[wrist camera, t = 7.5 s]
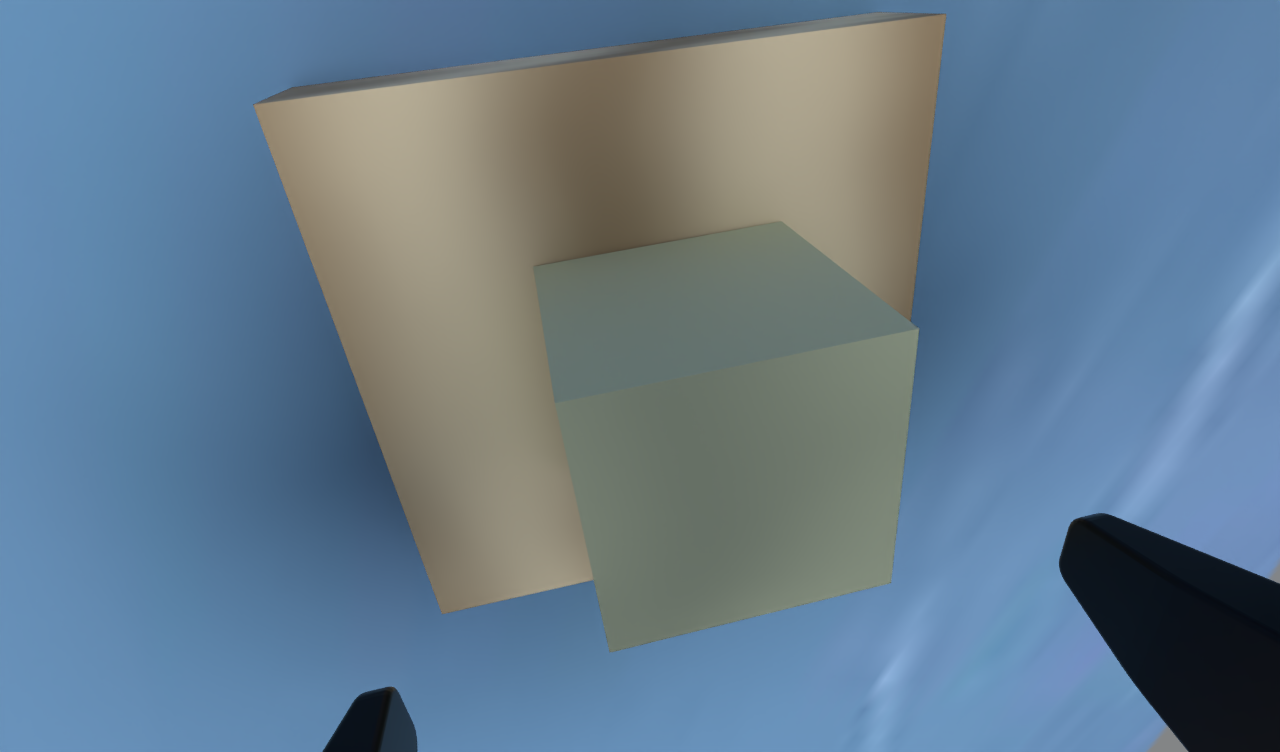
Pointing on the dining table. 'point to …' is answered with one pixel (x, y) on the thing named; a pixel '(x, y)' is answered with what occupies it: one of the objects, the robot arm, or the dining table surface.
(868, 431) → the cube
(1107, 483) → the dining table surface
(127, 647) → the dining table surface
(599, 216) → the base slab
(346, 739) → the robot arm
